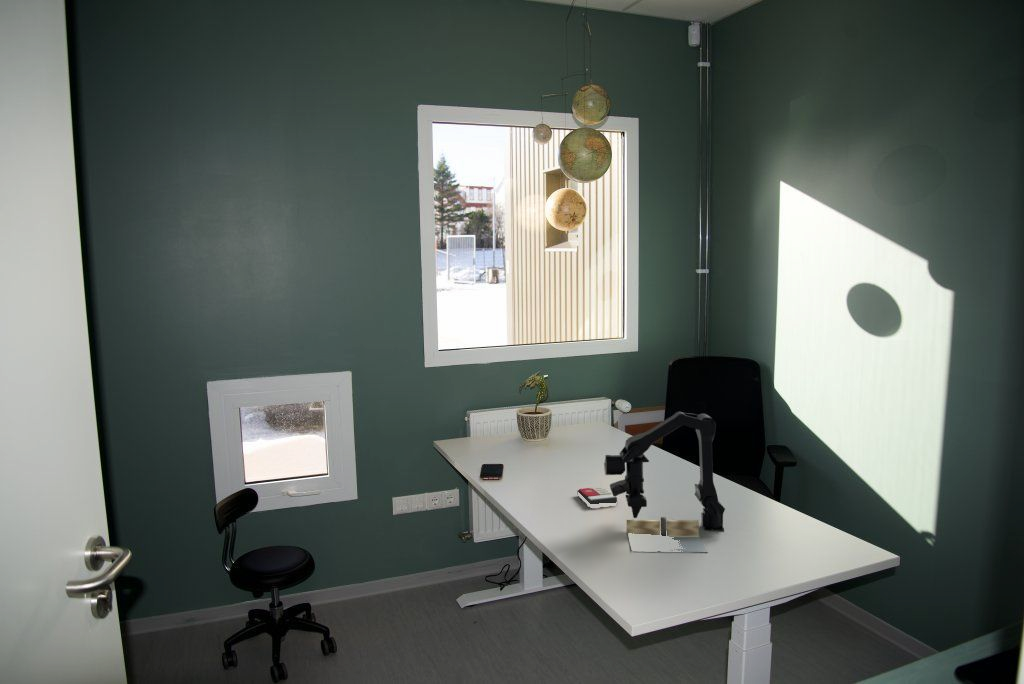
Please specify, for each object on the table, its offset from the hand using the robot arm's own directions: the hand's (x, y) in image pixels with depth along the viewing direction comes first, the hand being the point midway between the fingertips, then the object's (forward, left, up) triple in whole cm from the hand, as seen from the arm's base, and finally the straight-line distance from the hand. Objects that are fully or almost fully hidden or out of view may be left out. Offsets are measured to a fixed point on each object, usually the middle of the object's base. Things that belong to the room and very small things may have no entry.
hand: (635, 517), depth 231 cm
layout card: (-9, +11, -4) cm, 14 cm away
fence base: (-14, +6, -4) cm, 16 cm away
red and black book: (+12, -27, -5) cm, 30 cm away
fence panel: (-2, +6, -3) cm, 7 cm away
